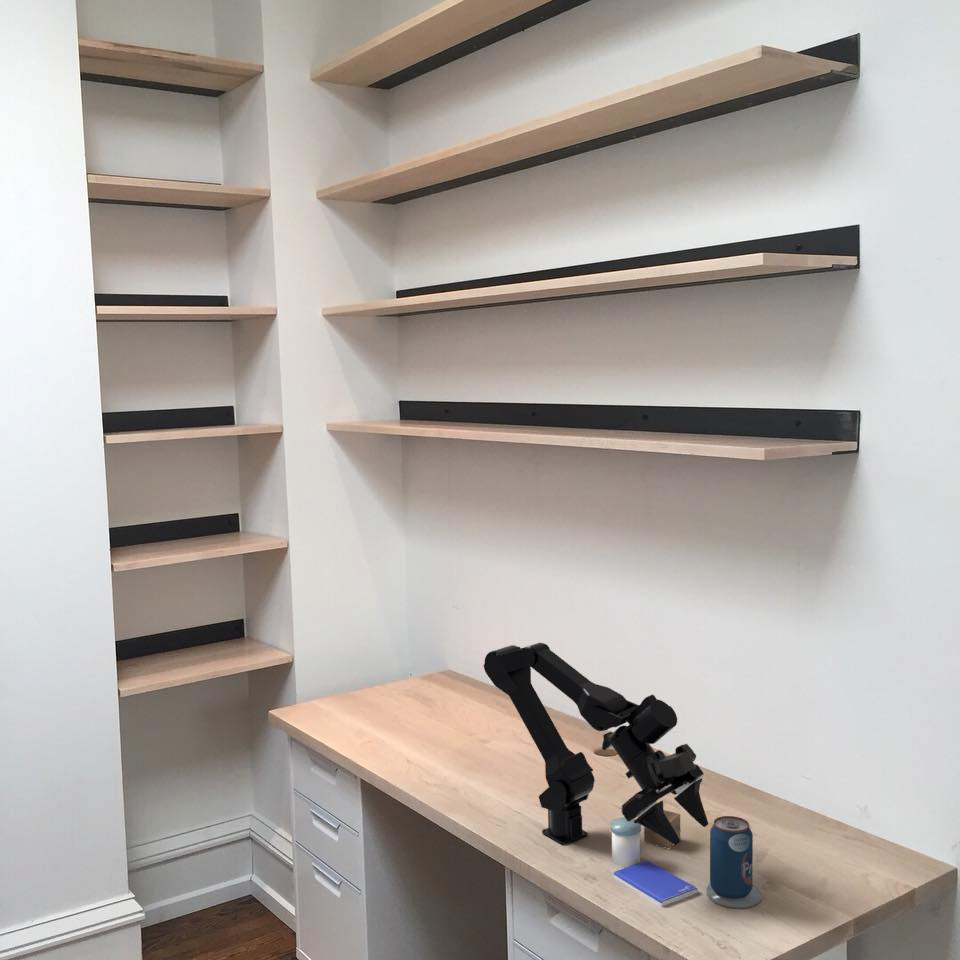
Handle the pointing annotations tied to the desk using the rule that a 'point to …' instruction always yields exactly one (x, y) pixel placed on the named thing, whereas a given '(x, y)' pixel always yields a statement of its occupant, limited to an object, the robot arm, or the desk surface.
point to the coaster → (747, 902)
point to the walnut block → (659, 840)
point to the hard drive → (655, 883)
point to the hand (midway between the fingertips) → (692, 834)
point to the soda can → (731, 858)
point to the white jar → (625, 842)
